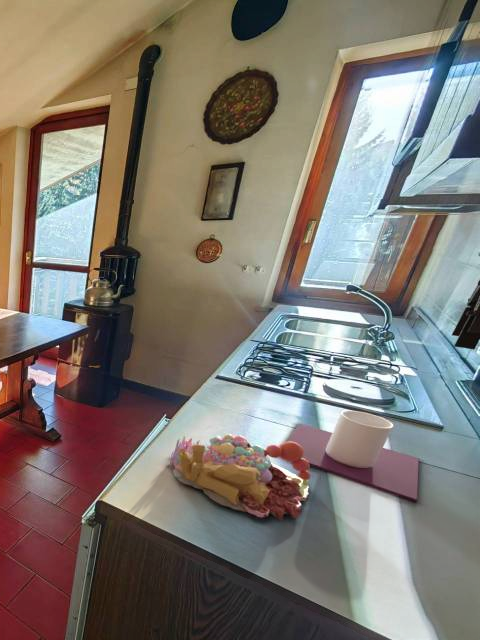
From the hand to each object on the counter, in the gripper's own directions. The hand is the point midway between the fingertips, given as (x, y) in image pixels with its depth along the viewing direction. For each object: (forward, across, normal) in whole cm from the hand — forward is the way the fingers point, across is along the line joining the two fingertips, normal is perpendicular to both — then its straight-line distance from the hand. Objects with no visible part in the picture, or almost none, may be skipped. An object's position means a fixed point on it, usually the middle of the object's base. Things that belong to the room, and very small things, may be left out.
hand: (462, 341), depth 84 cm
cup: (+26, +17, -9) cm, 33 cm away
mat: (+27, +17, -9) cm, 33 cm away
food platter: (+27, +47, -24) cm, 59 cm away
